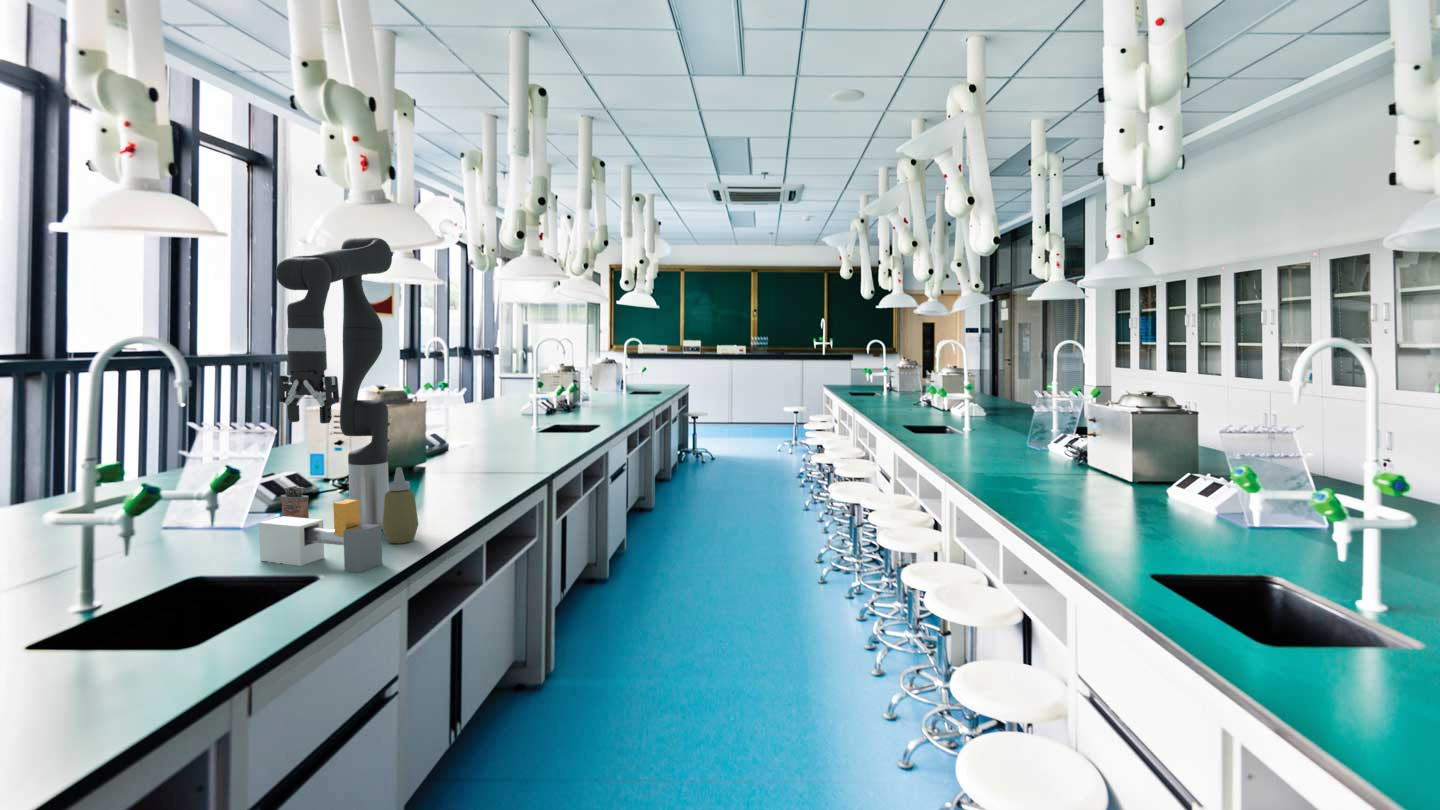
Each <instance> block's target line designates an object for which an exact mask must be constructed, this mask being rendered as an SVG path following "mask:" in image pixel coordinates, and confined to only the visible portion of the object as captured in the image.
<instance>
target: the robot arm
mask: <svg viewBox="0 0 1440 810" xmlns="http://www.w3.org/2000/svg"><path fill="white" fill-rule="evenodd" d="M392 255H393V254H392V250H391V246H390V245H389V244H388V242H387V241H386V240H384V239H382V238H380V237H350V238H349V237H348V238H346V239H345V240H343V242H342V245H341V249H332V250H327V251H321V252H317V253H315V254H311V255H298V256H297V255H296V256H288V257H285V258H283V259H282V260H280V261H279V262H278V264H277V265H276V269H275V277H276V280H277V282H278V283H279V284H280V285H281V286H282V287H283V288H285V289H287V290H290V291H307V292H306V295H305V297H304V298H302V299H299V300H295V301H291V302H290V303H288V305H287V308H286V309H287V310H286V314H287V315H286V316H287V333H286V335H287V336H286V349H287V351H286V352H287V356H286V357H287V369H288V371H290V372H291V375H290V374H284V375H283V374H282V375H279V376H278V401H279V403H284V404H285V405H286V406H287V418H288V419H287V420H288V421H289V423H298V422H300V419H301V417H300V405H299V403H300V401H301V399H302V398H304V397H305V396H310V397H311V396H312V398H313V399H315V400H316V402H317V403H318V405H320V406H319V423H320V424H330V423H331V421H332V406H333V405H334V404H338V403H340V406H339V409H340V410H339V424H340V430H341V433H342V434H343V435H344V436H346V437H372V438H371V442H370V443H368V444H367V445H365V446H363V447H359V448H357V449H354V450H352V451H350V452H349V453H348V454H347V456H348V457H347V460H348V461H347V463H348V466H347V467H348V492H349V493H348V495H349V497H348V499H352V500H359V509H360V525H363V524H376V525H381V531H383V529H382V525H383V512H384V500H385V494H386V493H387V492H389V491H390V490H389V483H390V482H389V457H388V456H389V451H388V450H389V438H388V437H389V408H388V406H387V403H386V402H385V400H382V399H365V400H363V399H358V398H359V391H360V387H361V385H362V383H363V380H364V379H365V377H366V375H367V374H368V372H369V371H370V370H371V368H372V367H373V366H374V364H375V363H376V362H377V360H378V359H379V357H380V355H381V354H382V350H383V333H384V332H383V324H382V321H381V319H380V318H381V317H379V315H378V314H377V312H376V310H375V309H374V306H372V305H371V303H370V301H369V299H368V298H367V297H366V294H365V292H364V288H363V281H362V276H363V275H373V274H374V275H376V274H383V273H385V272H387V271H388V270H389V269H390V268H391V265H392V261H393V256H392ZM338 281H342V289H343V291H342V292H343V317H342V318H343V319H342V320H343V322H342V385H341V398H340V394H339V382H338V379H339V378H338V377H337V376H336V375H329V376H328V375H327V376H325V375H326V373H325V371H326V370H327V369H328V366H327V365H328V363H327V361H328V360H327V359H328V358H327V338H326V337H327V336H326V333H325V317H324V313H325V312H324V311H325V307H326V304H327V303H326V302H327V298H328V294H329V290H330V286H331V283H335V282H338Z"/></svg>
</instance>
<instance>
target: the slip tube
mask: <svg viewBox="0 0 1440 810" xmlns="http://www.w3.org/2000/svg"><path fill="white" fill-rule="evenodd" d="M333 525H334V526H333V528H325V527H323V528H315V527H305V528H304V542H314V543H324V545H325V544H326V545H333V546H334V545H335V546H344V534H343V531H344V530H347V529H350V528H353V527H357V526H360V509H359V500H352V499H349V498H348V499H344V500H339V501H335V502H333Z"/></svg>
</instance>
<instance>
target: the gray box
mask: <svg viewBox="0 0 1440 810" xmlns="http://www.w3.org/2000/svg"><path fill="white" fill-rule="evenodd" d="M343 534H344V545H343V558H344V559H343V560H344V561H343V564H344V571H345V572H350V573H351V572H352V573H362V572H365V571H369V570H370V569H374V568H375V567H378V566H380V565H383V546H382V545H383V543H382V535H383V534H382V530H381V525H376V524H363V525H360V526H357V527H353V528H350V529H347V530H344V531H343Z"/></svg>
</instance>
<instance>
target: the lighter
mask: <svg viewBox="0 0 1440 810" xmlns="http://www.w3.org/2000/svg"><path fill="white" fill-rule="evenodd" d="M284 491H285V494H281V495H280V500H281V515H282V516H287V517H298V518H309V519H310V517H309V515H310V514H309V495H303V494H304V493H306V488H305V487H303V486H301V487H300V486H297V485H293V486H287V487H286V486H285V488H284ZM282 516H281V517H282Z"/></svg>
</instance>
